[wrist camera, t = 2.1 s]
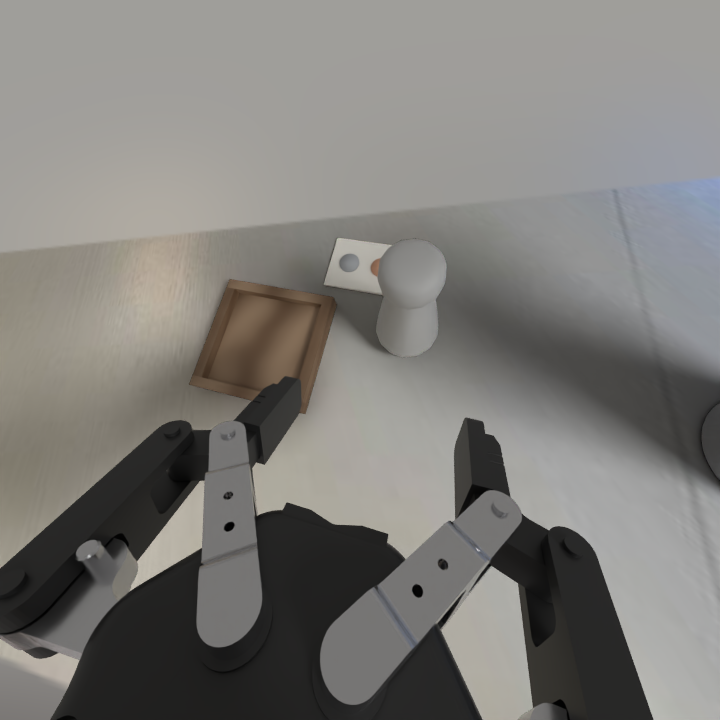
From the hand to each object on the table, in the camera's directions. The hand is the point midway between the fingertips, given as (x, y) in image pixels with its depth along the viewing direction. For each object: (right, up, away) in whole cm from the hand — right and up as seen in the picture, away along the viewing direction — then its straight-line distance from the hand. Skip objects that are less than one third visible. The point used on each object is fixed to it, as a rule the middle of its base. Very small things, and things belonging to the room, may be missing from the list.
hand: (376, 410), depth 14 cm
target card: (0, +13, +18) cm, 22 cm away
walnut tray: (-10, +4, +17) cm, 21 cm away
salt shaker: (+4, +5, +16) cm, 17 cm away
